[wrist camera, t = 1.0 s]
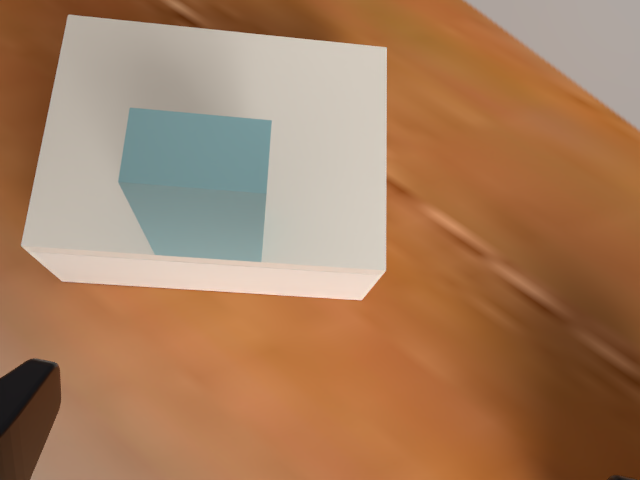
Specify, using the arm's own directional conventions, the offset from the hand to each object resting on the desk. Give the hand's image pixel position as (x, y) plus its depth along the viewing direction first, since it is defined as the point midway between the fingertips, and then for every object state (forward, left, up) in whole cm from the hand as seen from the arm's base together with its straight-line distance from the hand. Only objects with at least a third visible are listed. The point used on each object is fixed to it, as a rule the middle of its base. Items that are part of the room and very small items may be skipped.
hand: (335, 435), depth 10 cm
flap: (+4, +10, -10) cm, 15 cm away
